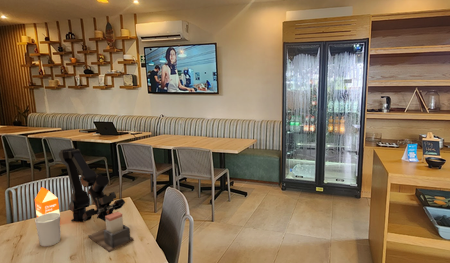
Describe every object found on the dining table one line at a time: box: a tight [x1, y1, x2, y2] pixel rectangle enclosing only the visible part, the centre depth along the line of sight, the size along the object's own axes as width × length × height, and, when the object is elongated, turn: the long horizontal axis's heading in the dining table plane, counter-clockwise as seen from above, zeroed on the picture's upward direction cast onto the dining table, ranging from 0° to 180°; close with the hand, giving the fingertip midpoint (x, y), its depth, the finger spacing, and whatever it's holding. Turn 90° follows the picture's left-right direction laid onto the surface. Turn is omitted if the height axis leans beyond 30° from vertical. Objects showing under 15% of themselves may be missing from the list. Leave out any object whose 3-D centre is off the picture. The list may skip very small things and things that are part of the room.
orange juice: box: [34, 186, 62, 226], centre depth 144 cm, size 8×9×20 cm
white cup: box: [34, 213, 62, 247], centre depth 130 cm, size 10×10×12 cm
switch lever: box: [105, 210, 124, 234], centre depth 129 cm, size 4×6×12 cm
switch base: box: [88, 224, 134, 253], centre depth 132 cm, size 19×12×7 cm, turn 51°
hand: (112, 225), depth 130 cm, fingers closed, pressing on switch lever
